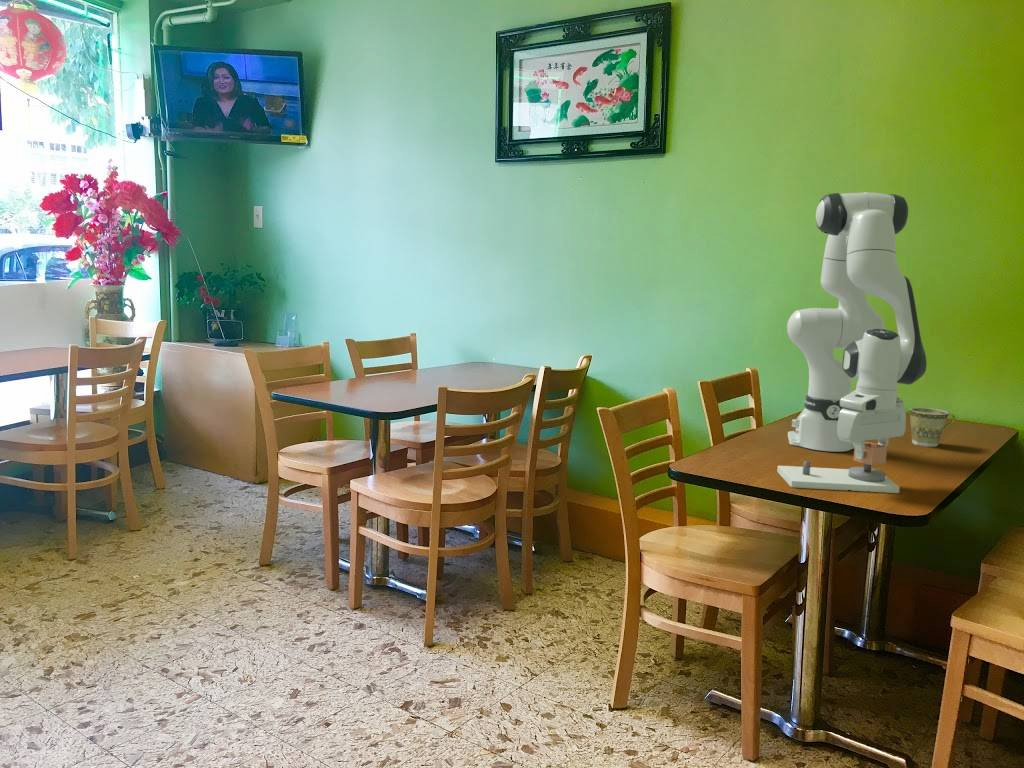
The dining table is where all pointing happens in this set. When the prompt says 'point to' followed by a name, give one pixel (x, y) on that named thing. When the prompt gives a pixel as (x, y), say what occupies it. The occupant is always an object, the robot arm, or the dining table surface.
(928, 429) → the ceramic cup
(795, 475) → the board
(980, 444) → the dining table surface
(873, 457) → the collar
